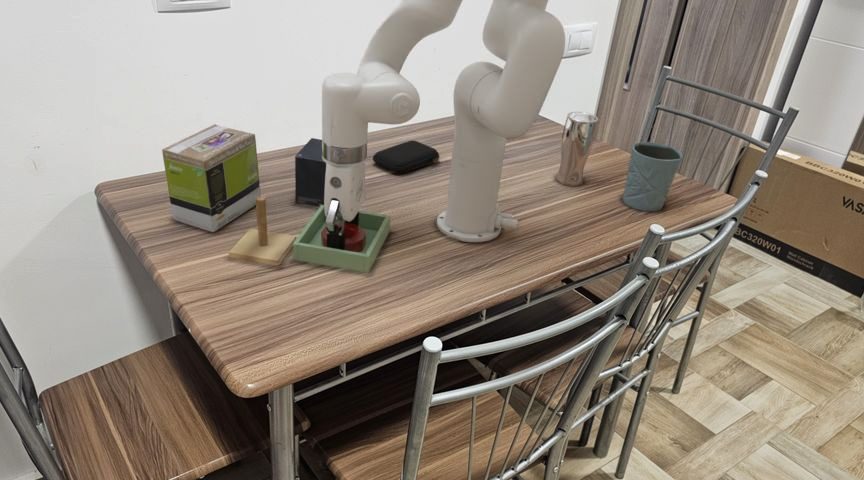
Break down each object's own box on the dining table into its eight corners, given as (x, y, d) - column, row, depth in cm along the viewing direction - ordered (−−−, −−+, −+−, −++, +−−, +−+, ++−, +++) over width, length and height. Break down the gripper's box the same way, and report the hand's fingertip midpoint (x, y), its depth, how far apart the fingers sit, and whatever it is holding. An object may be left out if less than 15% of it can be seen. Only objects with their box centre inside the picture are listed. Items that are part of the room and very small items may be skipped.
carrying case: (402, 179, 151) (445, 162, 160) (403, 166, 149) (446, 150, 158) (368, 164, 157) (412, 148, 166) (369, 151, 155) (413, 136, 164)
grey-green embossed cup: (610, 200, 148) (624, 148, 142) (632, 187, 155) (646, 137, 148) (654, 217, 143) (670, 164, 136) (675, 203, 149) (691, 151, 143)
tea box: (221, 191, 141) (215, 122, 133) (262, 203, 137) (258, 133, 129) (170, 220, 129) (160, 146, 121) (213, 234, 126) (205, 159, 118)
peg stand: (296, 243, 125) (295, 191, 119) (278, 268, 118) (275, 213, 112) (250, 235, 126) (246, 183, 121) (229, 259, 119) (224, 205, 113)
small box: (325, 209, 137) (325, 160, 131) (294, 205, 138) (292, 156, 132) (340, 187, 145) (340, 141, 140) (310, 183, 146) (310, 136, 141)
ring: (369, 237, 127) (370, 226, 126) (358, 258, 121) (358, 246, 120) (329, 231, 128) (329, 220, 127) (316, 251, 122) (316, 239, 121)
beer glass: (551, 182, 154) (563, 118, 146) (557, 171, 160) (569, 109, 152) (581, 189, 152) (596, 124, 144) (587, 177, 158) (601, 114, 150)
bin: (389, 232, 130) (390, 215, 128) (368, 275, 118) (368, 256, 116) (321, 221, 132) (321, 204, 130) (293, 261, 120) (292, 243, 118)
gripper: (351, 173, 107) (349, 268, 117) (379, 135, 121) (375, 222, 131) (305, 166, 108) (307, 261, 118) (338, 129, 122) (337, 216, 132)
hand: (343, 240), depth 124 cm, fingers closed on ring, 8 cm apart
